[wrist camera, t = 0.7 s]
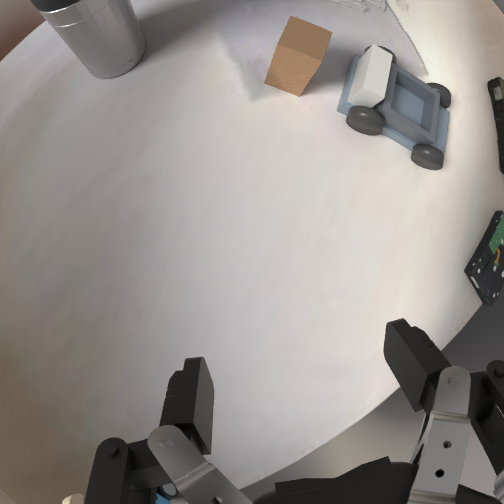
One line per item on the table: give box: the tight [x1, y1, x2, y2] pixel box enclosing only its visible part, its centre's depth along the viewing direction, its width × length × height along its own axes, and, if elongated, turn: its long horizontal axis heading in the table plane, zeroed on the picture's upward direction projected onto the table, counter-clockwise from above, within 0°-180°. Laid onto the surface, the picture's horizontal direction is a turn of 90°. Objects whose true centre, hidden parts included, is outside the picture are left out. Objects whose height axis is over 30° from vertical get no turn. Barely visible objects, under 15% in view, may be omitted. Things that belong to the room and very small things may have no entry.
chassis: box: [337, 44, 451, 170], centre depth 34 cm, size 18×13×7 cm
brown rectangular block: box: [264, 16, 332, 96], centre depth 30 cm, size 5×5×10 cm
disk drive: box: [464, 211, 504, 307], centre depth 41 cm, size 10×3×15 cm
